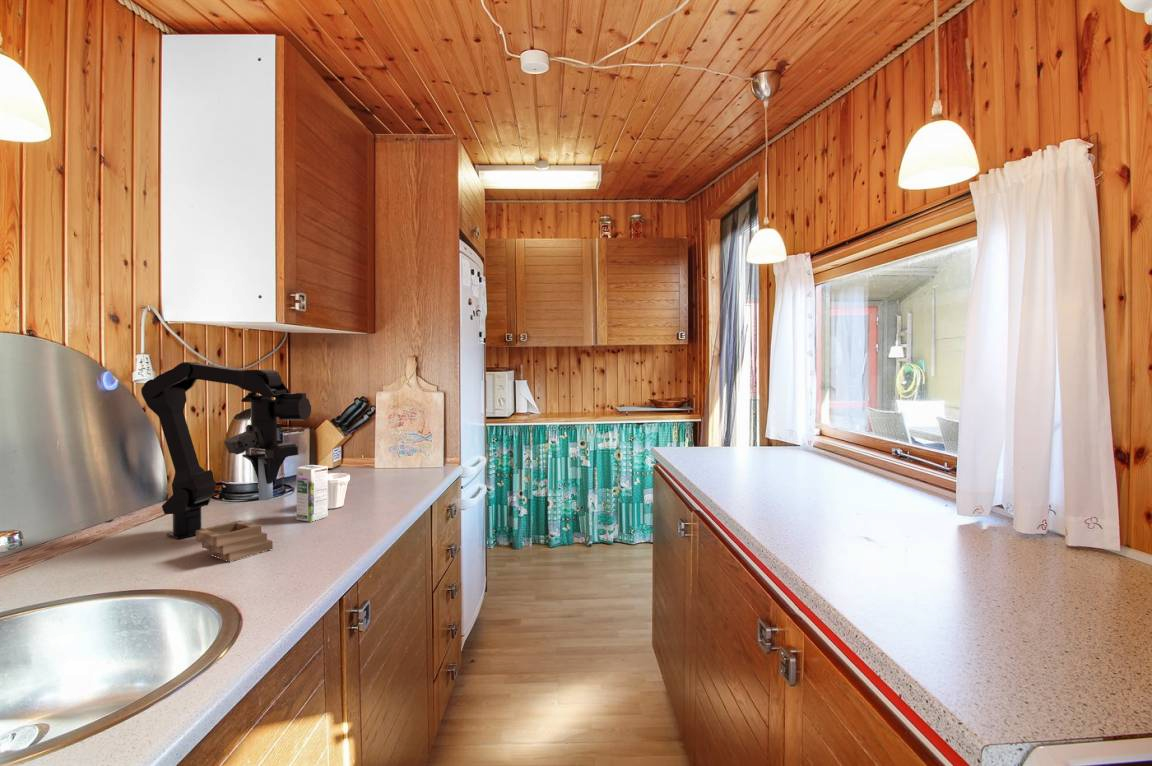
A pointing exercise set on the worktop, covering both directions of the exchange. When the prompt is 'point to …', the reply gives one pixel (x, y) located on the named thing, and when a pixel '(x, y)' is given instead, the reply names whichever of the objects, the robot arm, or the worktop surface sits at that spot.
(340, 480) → the cup
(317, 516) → the syrup box
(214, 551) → the leaning socket
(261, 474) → the gray dowel
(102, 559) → the worktop surface
